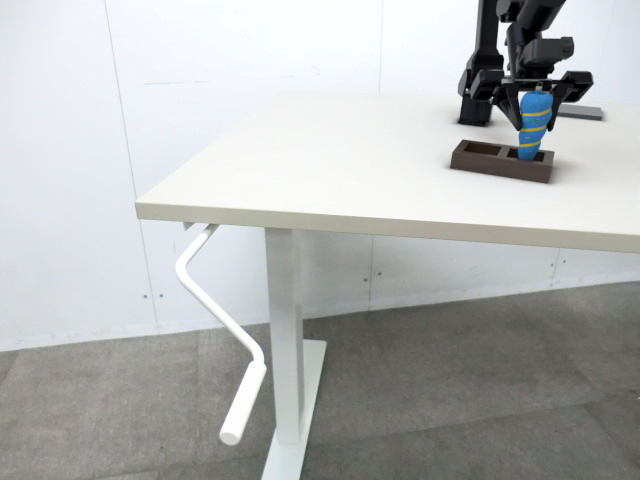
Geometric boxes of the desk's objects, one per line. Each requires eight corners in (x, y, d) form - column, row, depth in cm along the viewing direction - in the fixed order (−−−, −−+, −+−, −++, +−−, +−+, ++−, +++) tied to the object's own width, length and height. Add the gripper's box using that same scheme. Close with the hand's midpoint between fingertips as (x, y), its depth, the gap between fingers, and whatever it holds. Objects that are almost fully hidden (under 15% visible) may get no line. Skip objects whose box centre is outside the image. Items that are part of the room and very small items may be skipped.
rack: (548, 183, 79) (552, 166, 78) (449, 168, 85) (452, 151, 84) (550, 167, 86) (554, 151, 85) (460, 154, 92) (462, 139, 91)
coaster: (552, 115, 121) (553, 111, 121) (554, 106, 130) (555, 103, 130) (601, 120, 117) (602, 116, 117) (600, 111, 126) (601, 107, 125)
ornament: (535, 178, 81) (556, 86, 74) (504, 172, 84) (521, 83, 77) (540, 169, 85) (561, 81, 78) (510, 164, 88) (527, 78, 81)
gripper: (486, 16, 77) (494, 101, 72) (605, 17, 76) (620, 103, 72) (467, 61, 87) (472, 138, 83) (571, 63, 87) (582, 140, 82)
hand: (535, 130), depth 80 cm, fingers closed on ornament, 5 cm apart
